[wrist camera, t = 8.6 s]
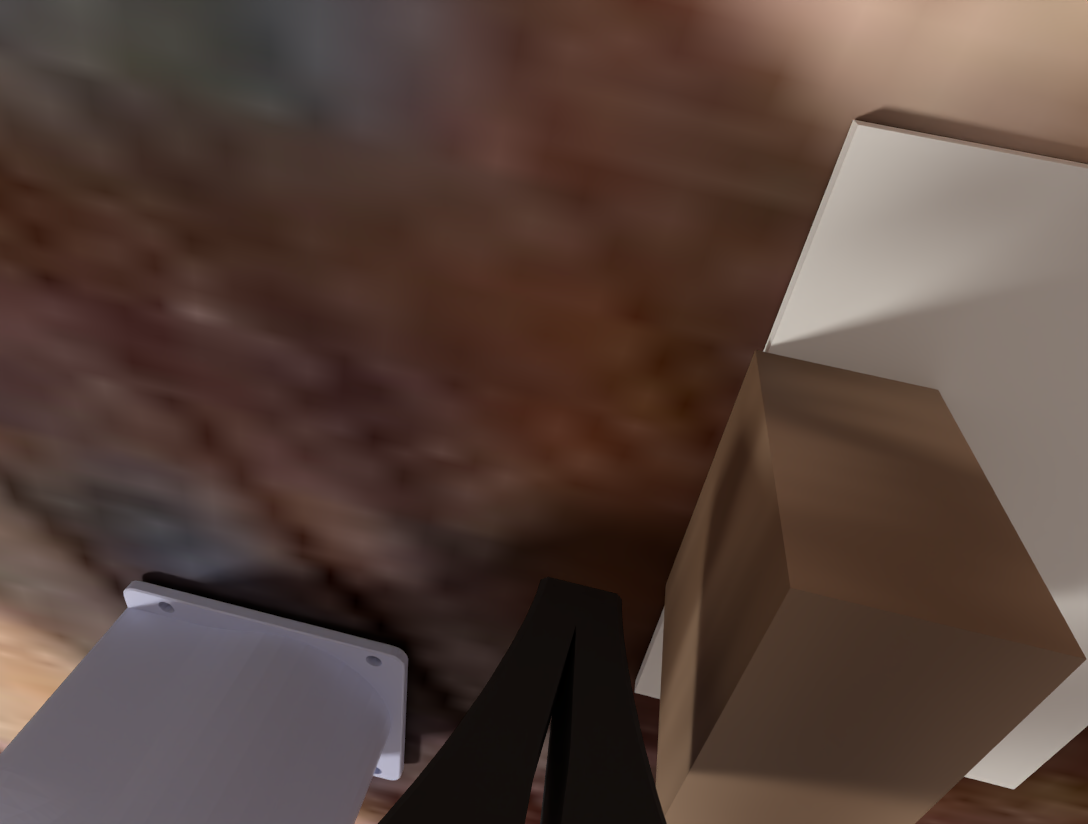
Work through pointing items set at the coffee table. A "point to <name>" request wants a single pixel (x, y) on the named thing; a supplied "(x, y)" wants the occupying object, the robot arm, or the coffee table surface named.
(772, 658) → the brown block
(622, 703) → the robot arm
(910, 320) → the mat
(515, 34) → the coffee table surface
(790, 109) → the coffee table surface
